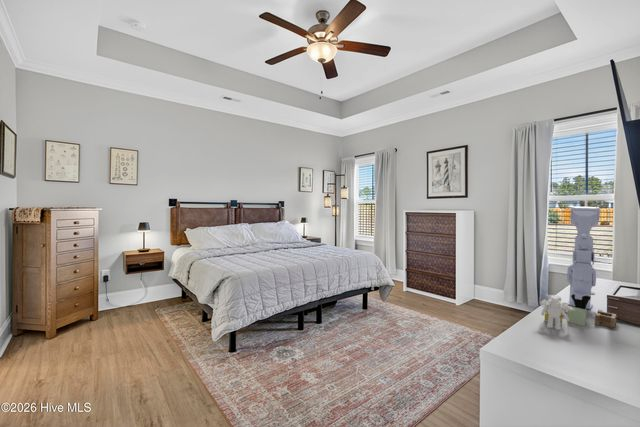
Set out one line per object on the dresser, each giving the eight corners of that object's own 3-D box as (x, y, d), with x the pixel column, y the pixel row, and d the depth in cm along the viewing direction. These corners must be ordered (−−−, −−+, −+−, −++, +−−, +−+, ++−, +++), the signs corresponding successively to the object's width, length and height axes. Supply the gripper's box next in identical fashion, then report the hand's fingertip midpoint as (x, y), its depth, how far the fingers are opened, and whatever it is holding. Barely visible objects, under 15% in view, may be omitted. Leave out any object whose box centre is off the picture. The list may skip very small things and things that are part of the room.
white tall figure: (556, 319, 120) (557, 294, 120) (565, 325, 115) (567, 299, 115) (541, 318, 121) (542, 294, 121) (550, 324, 116) (551, 298, 115)
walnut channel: (562, 310, 131) (562, 301, 131) (616, 322, 119) (616, 312, 119) (557, 316, 124) (558, 306, 124) (613, 329, 112) (614, 318, 112)
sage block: (569, 318, 122) (570, 306, 122) (586, 322, 118) (586, 309, 118) (567, 322, 118) (567, 309, 118) (584, 326, 115) (584, 312, 115)
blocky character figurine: (537, 325, 114) (539, 292, 114) (540, 322, 117) (542, 291, 116) (568, 333, 107) (570, 299, 107) (570, 330, 110) (572, 296, 110)
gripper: (592, 285, 115) (590, 321, 116) (597, 279, 125) (595, 312, 126) (568, 281, 120) (566, 315, 121) (575, 275, 130) (573, 307, 131)
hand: (580, 313), depth 124 cm, fingers closed
